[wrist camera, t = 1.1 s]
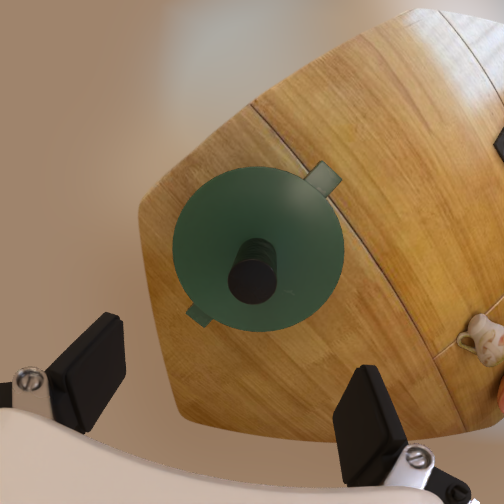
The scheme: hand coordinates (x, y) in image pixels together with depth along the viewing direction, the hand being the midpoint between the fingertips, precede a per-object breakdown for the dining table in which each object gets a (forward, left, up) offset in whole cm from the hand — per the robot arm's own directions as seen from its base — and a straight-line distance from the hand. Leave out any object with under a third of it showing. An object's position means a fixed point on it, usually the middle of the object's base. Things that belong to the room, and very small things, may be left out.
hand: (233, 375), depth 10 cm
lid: (0, 0, -15) cm, 15 cm away
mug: (+38, +12, -25) cm, 47 cm away
